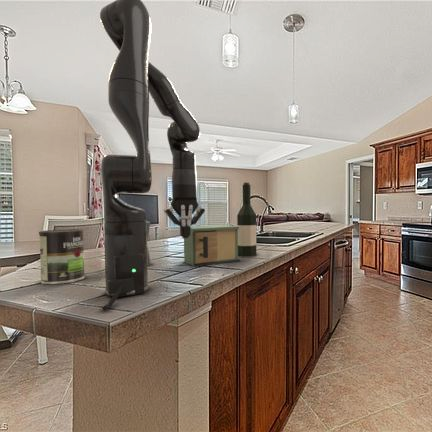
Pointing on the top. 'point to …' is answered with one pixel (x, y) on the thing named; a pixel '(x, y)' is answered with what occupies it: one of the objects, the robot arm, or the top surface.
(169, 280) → the top surface
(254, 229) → the wine bottle
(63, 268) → the coffee can
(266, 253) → the top surface
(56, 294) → the top surface
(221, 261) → the cupboard
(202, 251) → the sliding door
